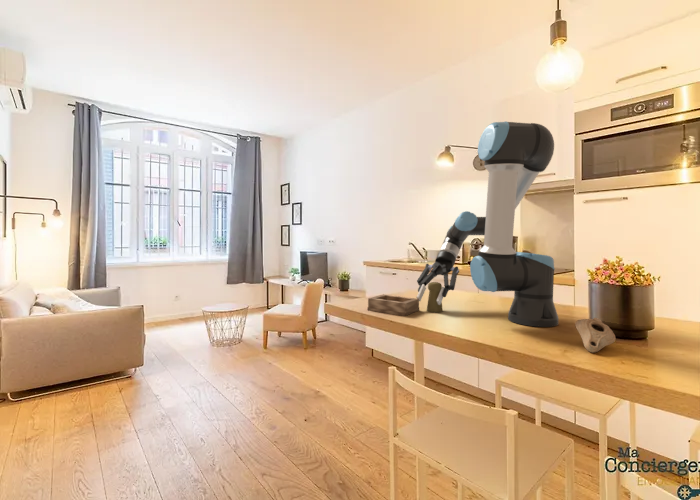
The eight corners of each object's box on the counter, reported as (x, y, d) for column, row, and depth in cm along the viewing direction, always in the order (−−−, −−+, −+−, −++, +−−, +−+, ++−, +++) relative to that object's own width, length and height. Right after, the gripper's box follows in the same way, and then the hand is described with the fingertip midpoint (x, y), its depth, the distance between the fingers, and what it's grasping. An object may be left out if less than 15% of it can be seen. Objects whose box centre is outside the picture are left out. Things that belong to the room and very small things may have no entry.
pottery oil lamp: (568, 349, 90) (569, 322, 90) (577, 339, 99) (578, 314, 99) (610, 357, 84) (612, 328, 84) (616, 346, 93) (617, 319, 93)
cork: (431, 308, 139) (431, 280, 139) (445, 310, 135) (445, 282, 135) (423, 310, 134) (423, 282, 134) (438, 313, 131) (438, 283, 130)
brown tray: (419, 310, 136) (419, 298, 135) (404, 316, 126) (404, 303, 126) (383, 305, 145) (383, 294, 145) (367, 310, 136) (367, 298, 135)
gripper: (473, 264, 141) (456, 311, 129) (426, 260, 153) (407, 302, 142) (469, 251, 136) (451, 299, 125) (422, 248, 149) (401, 291, 137)
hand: (428, 300), depth 133 cm, fingers open, 7 cm apart
